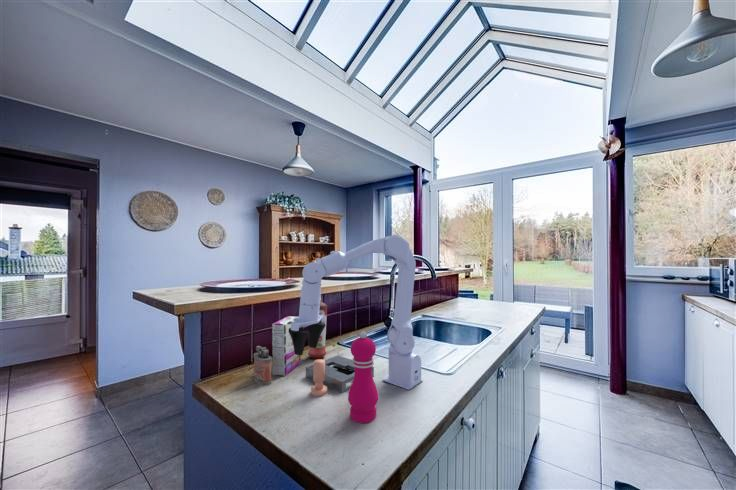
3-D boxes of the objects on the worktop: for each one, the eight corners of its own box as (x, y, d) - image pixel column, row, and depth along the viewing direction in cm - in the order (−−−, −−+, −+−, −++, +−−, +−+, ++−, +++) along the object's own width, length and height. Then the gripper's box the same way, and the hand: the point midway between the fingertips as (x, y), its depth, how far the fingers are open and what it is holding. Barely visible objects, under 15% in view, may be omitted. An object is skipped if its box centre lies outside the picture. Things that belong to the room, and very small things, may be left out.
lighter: (274, 383, 88) (274, 349, 89) (263, 386, 86) (263, 351, 86) (261, 375, 94) (261, 343, 94) (250, 378, 91) (251, 345, 92)
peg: (330, 392, 83) (330, 361, 83) (318, 398, 79) (318, 365, 79) (319, 387, 85) (320, 357, 86) (307, 393, 82) (307, 361, 82)
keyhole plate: (373, 376, 93) (373, 366, 93) (342, 392, 82) (342, 381, 82) (337, 364, 103) (337, 355, 103) (305, 377, 92) (305, 367, 93)
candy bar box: (287, 362, 105) (287, 315, 105) (300, 363, 104) (300, 316, 104) (270, 375, 94) (271, 323, 94) (285, 376, 93) (285, 324, 93)
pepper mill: (368, 428, 66) (368, 337, 66) (341, 418, 70) (342, 332, 70) (383, 413, 72) (383, 330, 72) (359, 405, 76) (359, 326, 76)
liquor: (310, 361, 105) (310, 282, 106) (304, 355, 112) (304, 281, 112) (329, 358, 109) (330, 281, 109) (322, 352, 115) (323, 280, 116)
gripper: (311, 299, 95) (307, 342, 94) (283, 305, 81) (278, 355, 81) (330, 302, 92) (327, 346, 92) (305, 308, 79) (301, 360, 78)
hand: (305, 350), depth 86 cm, fingers open, 7 cm apart
